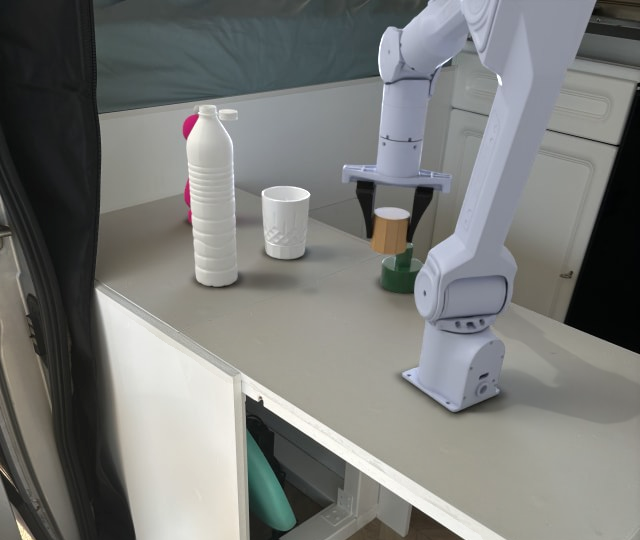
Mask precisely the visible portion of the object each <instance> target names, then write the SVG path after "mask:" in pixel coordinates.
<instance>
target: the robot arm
mask: <svg viewBox="0 0 640 540" xmlns="http://www.w3.org/2000/svg"><path fill="white" fill-rule="evenodd" d="M596 4H597V0H428V2H427V5H426V7H425V8H424V9H422V10H421V12H419V14H418V15H416V16H414V17H413V19H411V21H410V22H409V23H408V24H407V25H406V26H404V28H398V27H396V26H388V27H387V28H386V29H385V31H384V33H383V34H382V37H381V39H380V43H379V50H378V70H379V75H380V78H381V80H382V82H383V90H382V91H383V92H382V102H381V111H380V112H381V113H380V122H379V123H380V124H379V134H378V145H377V155H376V156H377V157H376V164H363V165H362V164H361V165H360V164H344V165H343V167H342V173H341V174H342V175H341V183H342V184H350V183H354V184H356V188H355V196H356V198H357V200H358V203H359V206H360V208H361V211H362V215H363V219H364V225H365V234H366V235H365V237H366V239H369V240H371V238H372V223H373V215H374V211H375V203H376V196H377V186H386V187H395V188H405V189H414V195H413V202H412V209H411V210H412V211H411V216H410V217H411V218H410V226H409V231H408V237H407V243H411V244H413V239H414V235H415V233H416V230H417V227H418V225H419V223H420V221H421V218H422V217H423V215H424V213H425V212H426V210H427V209H428V207H429V205H430V204H431V203H432V201H433V198H434V192H435V191H436V192H441V193H442V194H450V192H451V186H452V181H453V174H449V173H441V172H436V171H432V170H427V169H422V168H420V167H421V158H422V151H423V145H424V136H425V128H426V121H427V114H428V106H429V100H431V99H432V98H433V96H434V95H435V88H436V87H435V86H436V83H437V80H438V78H439V76H440V73H441V71H442V67H443V65H444V64H445V63H447V62H448V61H449V60H451V59H452V58H454V57H455V56H456V55H458V54H459V53H460V52H461V51H463V49H464V47H465V45H466V43H467V41H468V35H469V34H470V36H471V39H472V41H473V43H474V47H475V50H476V52H477V55H478V58H479V60H480V63H481V65H482V66H483V67H485V68H486V69H488V70H489V71H491V72H492V73H494V74H496V77H497V81H498V83H497V84H498V85H497V89H496V92H495V95H494V98H493V101H492V105H491V109H490V112H489V115H488V118H487V122H486V125H485V129H484V132H483V136H482V137H481V138H482V139H481V142H480V145H479V149H478V153H477V156H476V159H475V162H474V165H473V169H472V172H471V176H470V179H469V182H468V185H467V188H466V191H465V195H464V198H463V202H462V205H461V209H460V212H459V215H458V219H457V222H456V225H455V228H454V232H453V233H452V234H451V235H450V236H448V237H447V238H446V239H444V240H443V241H441V242H440V243H437V245H435V246H433V248H431V249H430V250H429V251H428V253H427V256H426V259H425V262H424V264H423V267H422V268H421V270H420V271H419V273H418V275H417V277H416V281H415V287H414V292H413V293H414V295H413V296H414V301H415V306H416V309H417V312H418V313H419V314H420V316H421V317H422V318H423V319H424V320H425V323H424V329H423V336H422V341H421V347H420V348H421V349H420V355H419V360H418V366H417V367H414V368H411V369H408V370H406V371H403V372H402V373H401V377H403V378H404V380H406V381H408V382H409V383H411V384H412V385H413V386H415V387H416V388H418V389H419V390H420V391H422V392H423V393H425V394H426V395H427V396H429V397H430V398H432V399H433V400H435V401H436V402H437V403H438V404H440V405H442V406H443V407H444V408H446V409H447V410H449V411H450V412H452V413H457V412H459V411H462V410H465V409H467V408H469V407H471V406H474V405H476V404H478V403H480V402H483V401H485V400H489V399H490V398H492V397H495V396H498V395H499V394H500V392H501V391H500V389H499V388H498V384H499V379H500V375H501V371H502V367H503V364H504V363H503V362H504V359H505V355H506V346H505V343H504V342H503V340H502V339H501V338H499V337H498V336H497V335H496V334H495V333H494V331H493V329H492V328H491V325H495V324H496V320H497V316H500V315H502V314H503V313H505V312H506V311H507V309H508V308H509V306H510V303H511V301H512V298H513V294H514V282H515V277H516V274H517V272H518V264H517V262H516V260H515V257H514V256H513V253H512V252H511V251H510V250H509V249H508V248H507V246H506V245H504V244H505V242H506V238H507V236H508V234H509V231H510V228H511V225H512V223H513V220H514V217H515V215H516V212H517V209H518V207H519V204H520V202H521V198H522V195H523V193H524V190H525V188H526V186H527V182H528V179H529V176H530V175H531V172H532V169H533V167H534V164H535V160H536V157H537V155H538V152H539V150H540V147H541V144H542V142H543V139H544V137H545V134H546V131H547V129H548V125H549V123H550V120H551V118H552V115H553V112H554V109H555V106H556V104H557V102H558V99H559V96H560V94H561V90H562V88H563V85H564V83H565V78H566V75H567V71H568V69H569V68H570V67H571V66H572V65H573V64H574V61H575V59H576V56H577V54H578V50H579V49H580V45H581V43H582V40H583V37H584V35H585V32H586V30H587V27H588V25H589V21H590V19H591V16H592V13H593V11H594V8H595V6H596Z"/></svg>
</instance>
